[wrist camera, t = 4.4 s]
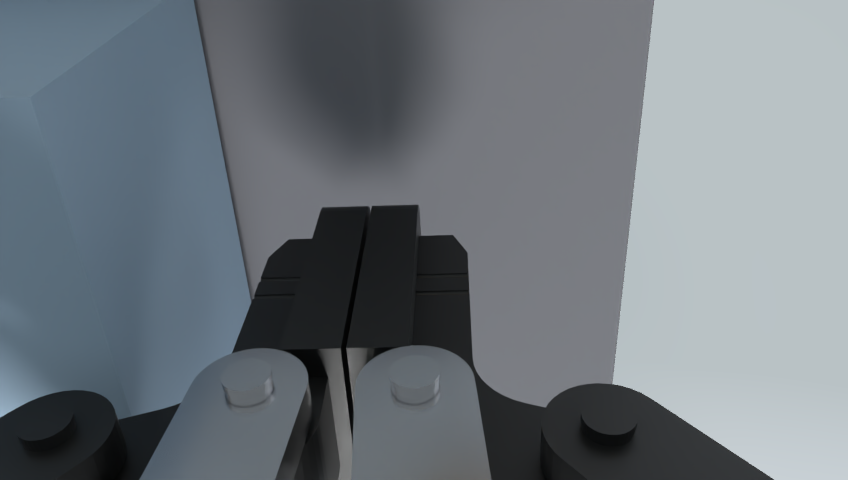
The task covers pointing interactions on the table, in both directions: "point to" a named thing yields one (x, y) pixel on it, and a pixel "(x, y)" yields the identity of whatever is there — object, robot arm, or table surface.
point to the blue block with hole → (112, 205)
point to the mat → (450, 151)
